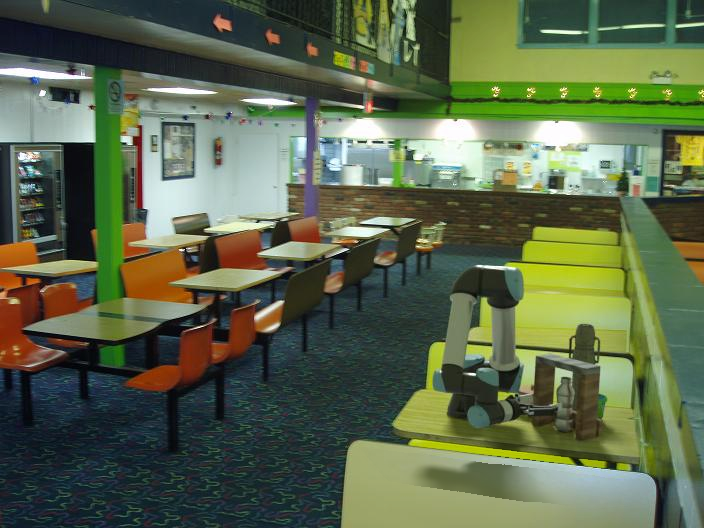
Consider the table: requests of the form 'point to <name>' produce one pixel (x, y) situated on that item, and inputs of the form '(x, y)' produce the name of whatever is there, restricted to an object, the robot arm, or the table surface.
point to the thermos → (583, 352)
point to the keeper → (587, 393)
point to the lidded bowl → (526, 392)
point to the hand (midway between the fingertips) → (546, 401)
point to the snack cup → (601, 405)
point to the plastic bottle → (565, 405)
